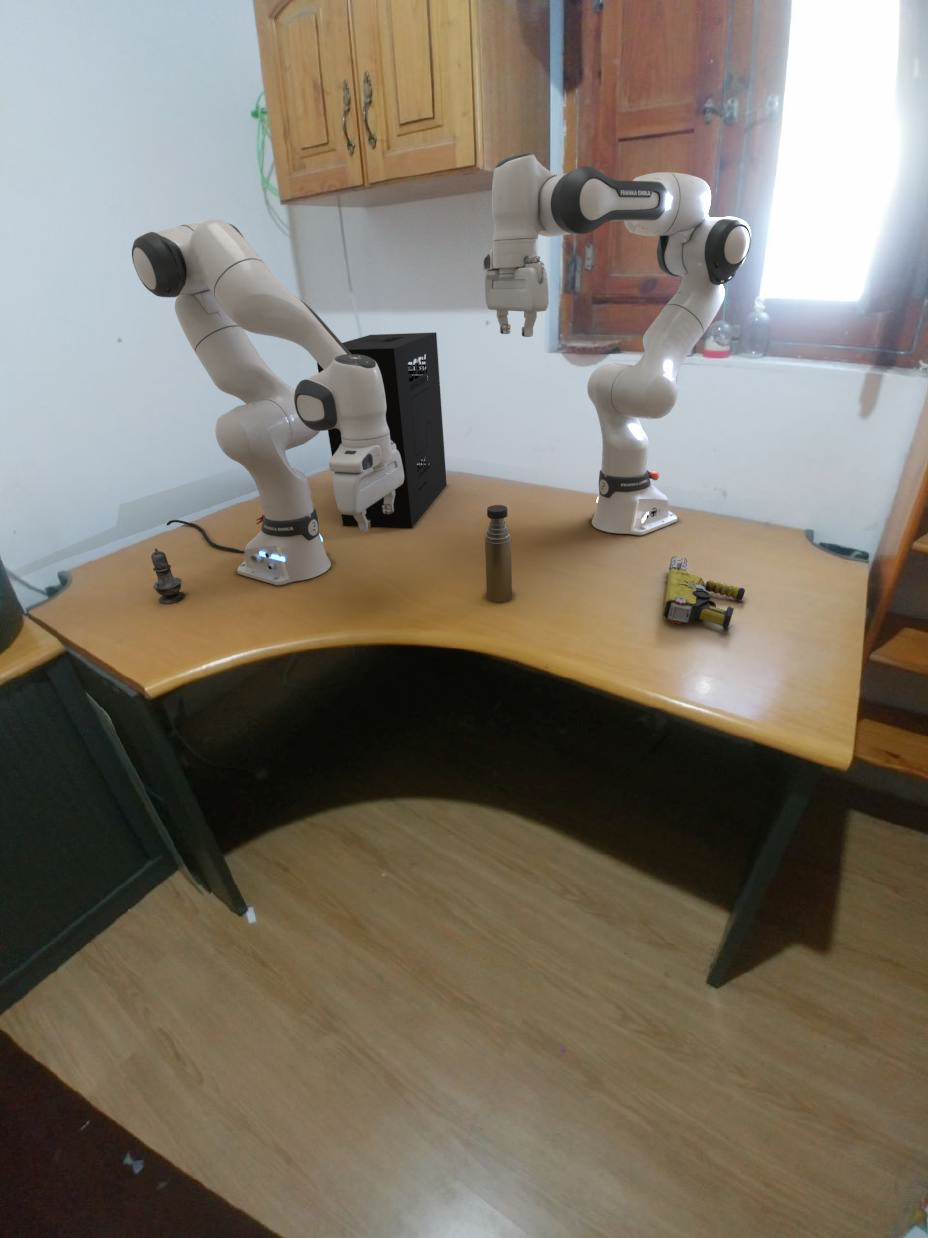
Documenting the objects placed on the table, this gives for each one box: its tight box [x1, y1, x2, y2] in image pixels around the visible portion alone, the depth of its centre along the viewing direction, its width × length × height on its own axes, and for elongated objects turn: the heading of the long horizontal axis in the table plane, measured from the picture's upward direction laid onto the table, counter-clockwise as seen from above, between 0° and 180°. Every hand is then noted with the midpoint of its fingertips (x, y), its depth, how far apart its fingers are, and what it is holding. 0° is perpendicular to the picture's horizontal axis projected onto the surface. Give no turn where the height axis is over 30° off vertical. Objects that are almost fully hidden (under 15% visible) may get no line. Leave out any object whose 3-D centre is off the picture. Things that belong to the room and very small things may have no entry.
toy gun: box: [662, 556, 746, 632], centre depth 120 cm, size 5×24×15 cm
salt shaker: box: [150, 547, 185, 604], centre depth 132 cm, size 6×6×12 cm
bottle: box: [484, 518, 513, 603], centre depth 123 cm, size 5×5×19 cm
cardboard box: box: [316, 332, 448, 529], centre depth 171 cm, size 38×20×45 cm, turn 167°
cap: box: [486, 504, 508, 520], centre depth 118 cm, size 4×4×2 cm
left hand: (377, 521), depth 118 cm, fingers open, 8 cm apart
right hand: (516, 335), depth 125 cm, fingers open, 8 cm apart
